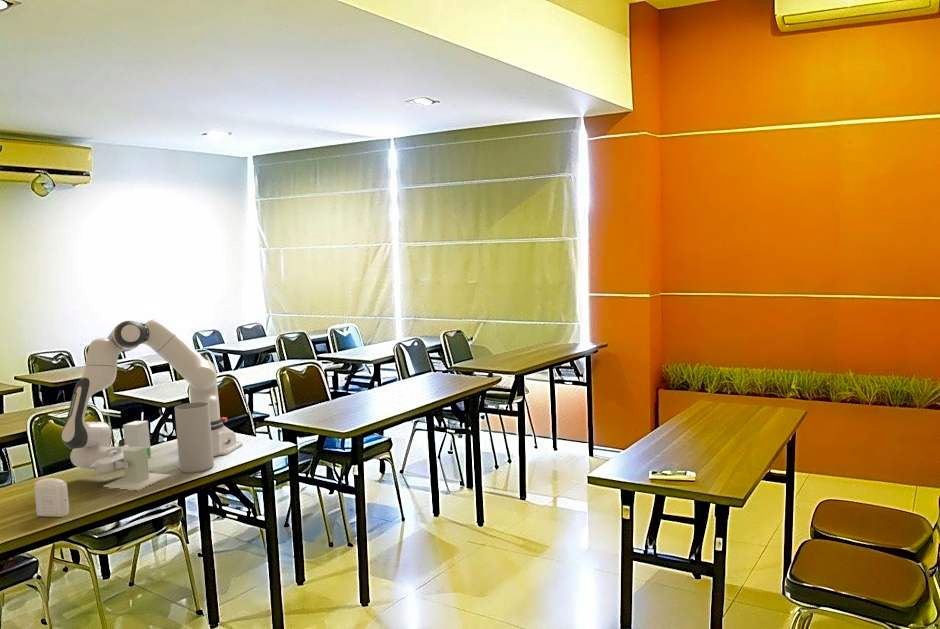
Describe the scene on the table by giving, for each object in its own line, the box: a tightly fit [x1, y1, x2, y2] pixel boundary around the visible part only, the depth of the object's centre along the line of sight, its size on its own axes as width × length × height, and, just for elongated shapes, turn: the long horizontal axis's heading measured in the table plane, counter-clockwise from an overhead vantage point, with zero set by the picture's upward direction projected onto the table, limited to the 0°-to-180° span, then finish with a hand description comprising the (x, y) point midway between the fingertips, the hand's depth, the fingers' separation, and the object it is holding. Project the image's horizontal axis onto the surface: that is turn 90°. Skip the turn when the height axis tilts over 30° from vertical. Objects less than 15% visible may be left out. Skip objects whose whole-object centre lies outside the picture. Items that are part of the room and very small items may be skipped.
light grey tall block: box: [123, 447, 150, 483], centre depth 269 cm, size 6×6×12 cm
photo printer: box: [34, 477, 70, 518], centre depth 238 cm, size 10×4×12 cm, turn 81°
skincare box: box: [122, 420, 152, 459], centre depth 299 cm, size 8×7×16 cm
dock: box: [103, 472, 171, 492], centre depth 270 cm, size 16×16×7 cm
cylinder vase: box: [174, 402, 215, 474], centre depth 283 cm, size 12×12×25 cm
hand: (137, 461), depth 269 cm, fingers open, 7 cm apart
